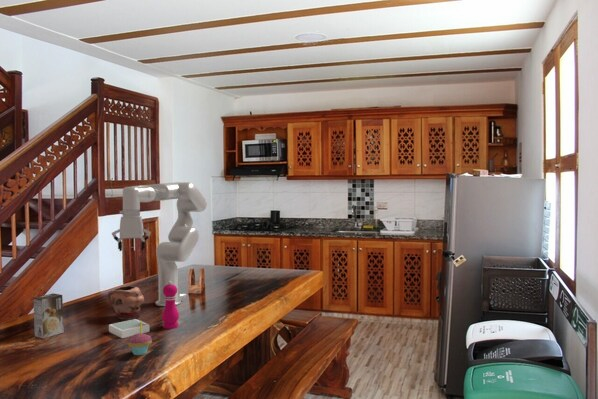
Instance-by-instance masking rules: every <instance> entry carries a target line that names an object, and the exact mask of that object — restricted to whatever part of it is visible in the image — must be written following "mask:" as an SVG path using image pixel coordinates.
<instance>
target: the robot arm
mask: <svg viewBox="0 0 598 399" xmlns="http://www.w3.org/2000/svg"><path fill="white" fill-rule="evenodd" d="M201 192H202V191H200V189H198V187H197V186H196V185H195V184H193V182H189V181H187V182H182V181H181V182H176V181H175V182H164V183H153V184H144V185H143V184H141V185H132V186H125V187H123V188H122V210H120V211H119V215H122V216H121V217H120V219H119V220H120V222H119V229H117V230H114V231H113V232H111V235H112V237H113V239H114V240H115V241H116V242H117V249H118V250H119V252H122V251H123V242H122V240H123V239H140V241H141V242H140V244H141V251H142V252H144V250H145V249H146V241H147V240H148V239H150V236H151V234H152V231H149V230H148V229H146V228H144V222H143V218H142V216H141V203H150V202H153V201H157V202H159V201H160V202H161V201H169V200H176V209H177V219H176V220H175V222H174V225H173V226H172V228H171V229H170V231H169V233H168V236H167V238H168V241H163V242H160V243H159V244H158V245H157V246H156V249H155V253H156V254H155V255H156V259H157V266H158V270H157V272H158V274H157V275H158V300H156V301H155V305H156V306H158V307H165V303H166V302H165V299H164V298H165V297H164V296H165V295H164V293H163V288H164V287H165V286H166V285H169V284H168V282H169V281H172V285H175V286H176V287H177V293H176V299H175V305H176V306H178V305H181V303H182V300H181V299H183V298H186V297H187V293H179V290H178V289H179V288H178V286H179V284H178V283H179V281H178V280H179V279H178V278H179V276H178V274H179V273H178V270H179V269H178V265H177V263H183V262H184V263H185V261H187V260H188V259H189V258H190V256H191V254H192V252H193V251H194V249H195V248H196V246H197V243H198V241H199V231H198V230H197V228H196V227H195V226H194V227H193V224H194V220H193V218H192V215H191V213H192V212H193V213H201V212H204V211H205V210H206V208H207V206H208V205H207V204H208V203H207V200H206V198H205V196H204V195H203V193H201ZM118 233H119V237H118V236H117V234H118ZM144 233H145V234H146V236H145V237H144ZM176 262H177V263H176Z"/></svg>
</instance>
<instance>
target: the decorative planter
mask: <svg viewBox="0 0 598 399" xmlns="http://www.w3.org/2000/svg"><path fill="white" fill-rule="evenodd" d="M107 299H108V301H109V303H110V304H111V305H112V307H113V309H114V311H115V314H116V318H118V319H120V320H133V319H137V318H138V317H141V305H142V304H143V303H144V302H145V297H144V295H143V293H142V291H141V289H140V288H139V287H137V286H131V285H130V286H129V285H126V286H121V287H116V288H114V289H112V290H110V291H109V292H108V293H107Z"/></svg>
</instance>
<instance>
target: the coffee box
mask: <svg viewBox="0 0 598 399" xmlns="http://www.w3.org/2000/svg"><path fill="white" fill-rule="evenodd" d="M32 300H33V322H34V323H33V324H34V326H33V327H34V337H37V338H41V339H47V338H50V337H52V336H57V335H59V334H64V331H65V329H64V306H63V305H64V304H63V300H64V299H63V294H59V293H48V294H44V295H40V296H36V297H33V298H32Z"/></svg>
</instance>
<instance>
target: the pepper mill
mask: <svg viewBox="0 0 598 399" xmlns="http://www.w3.org/2000/svg"><path fill="white" fill-rule="evenodd" d="M168 284H169V285H166V286H165V287H164V288H163V293H164V295H165V296H164V297H165V298H164V299H165V302H166V303H165V306H164V309H163V311H162V314H161V320H162V324H163V325H162V327H163V329H166V330H167V329H168V330H172V329H176V328H178V327H179V322H178V320H179V318H180V313H179V311H178V308H177V305H175V299H176V293H177V287H176V286H175V285H172V281H169V282H168Z"/></svg>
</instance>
